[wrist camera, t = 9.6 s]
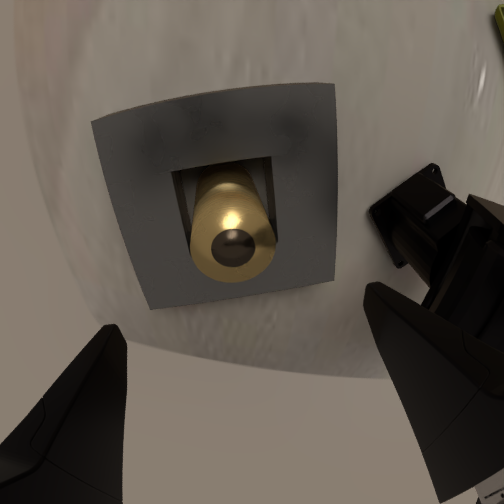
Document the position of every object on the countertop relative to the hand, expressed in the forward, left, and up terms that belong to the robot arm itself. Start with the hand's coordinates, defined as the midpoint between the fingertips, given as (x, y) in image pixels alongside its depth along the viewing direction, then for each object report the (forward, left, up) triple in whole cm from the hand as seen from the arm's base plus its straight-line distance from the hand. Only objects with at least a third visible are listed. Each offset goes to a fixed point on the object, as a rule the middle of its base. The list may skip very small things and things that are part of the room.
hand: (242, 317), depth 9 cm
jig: (0, 0, -11) cm, 11 cm away
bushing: (0, 0, -11) cm, 11 cm away
